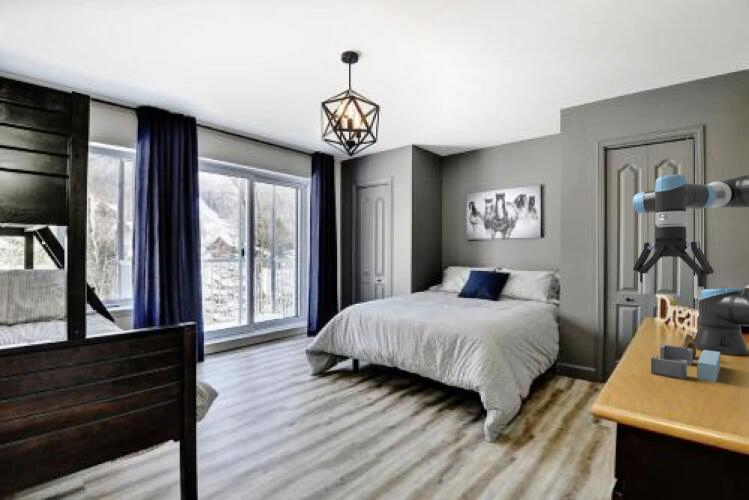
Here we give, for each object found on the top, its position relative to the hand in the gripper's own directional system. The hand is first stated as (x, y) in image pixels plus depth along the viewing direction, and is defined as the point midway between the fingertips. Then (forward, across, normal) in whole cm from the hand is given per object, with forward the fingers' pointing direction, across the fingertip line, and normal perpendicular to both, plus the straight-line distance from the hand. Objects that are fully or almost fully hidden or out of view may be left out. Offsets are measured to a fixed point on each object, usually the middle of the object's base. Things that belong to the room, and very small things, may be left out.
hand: (670, 295), depth 117 cm
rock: (+23, -6, +24) cm, 34 cm away
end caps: (+23, -2, +4) cm, 23 cm away
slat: (+23, +6, +9) cm, 26 cm away
